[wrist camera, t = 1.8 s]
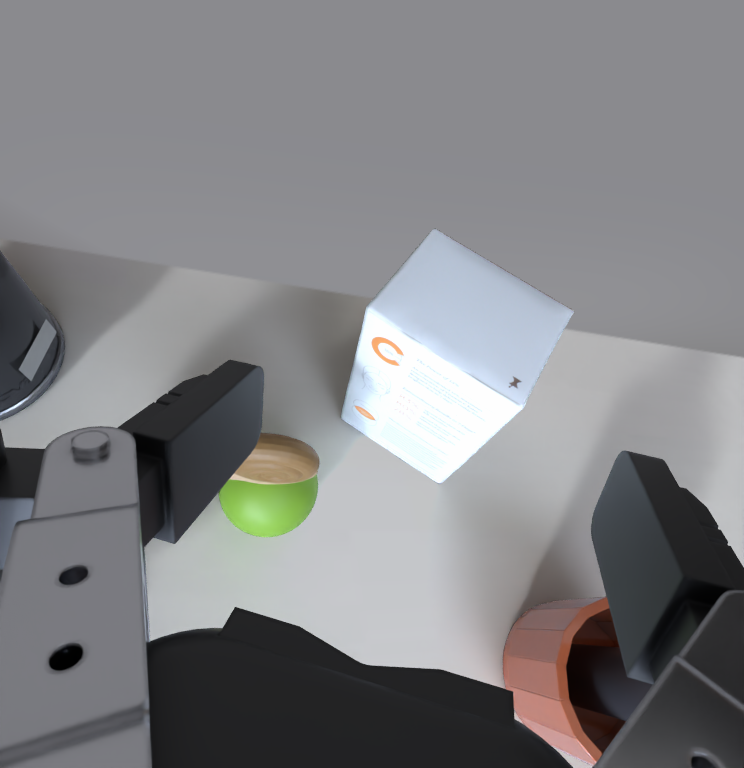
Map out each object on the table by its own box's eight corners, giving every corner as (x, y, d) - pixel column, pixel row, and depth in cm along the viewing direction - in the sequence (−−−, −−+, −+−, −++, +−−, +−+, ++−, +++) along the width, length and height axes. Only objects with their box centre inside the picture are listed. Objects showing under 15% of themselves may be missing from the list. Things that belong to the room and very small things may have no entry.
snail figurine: (215, 450, 31) (176, 360, 20) (318, 457, 32) (333, 374, 21) (200, 540, 29) (147, 493, 18) (312, 545, 30) (325, 502, 19)
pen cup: (476, 667, 28) (525, 680, 22) (554, 575, 31) (615, 564, 25) (575, 786, 26) (656, 832, 21) (648, 676, 29) (737, 690, 23)
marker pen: (535, 671, 28) (798, 726, 13) (566, 631, 29) (839, 641, 15) (576, 718, 27) (899, 829, 13) (606, 675, 28) (934, 732, 14)
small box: (483, 413, 35) (580, 310, 23) (440, 487, 32) (525, 412, 21) (386, 351, 36) (433, 222, 24) (337, 418, 33) (362, 308, 22)
